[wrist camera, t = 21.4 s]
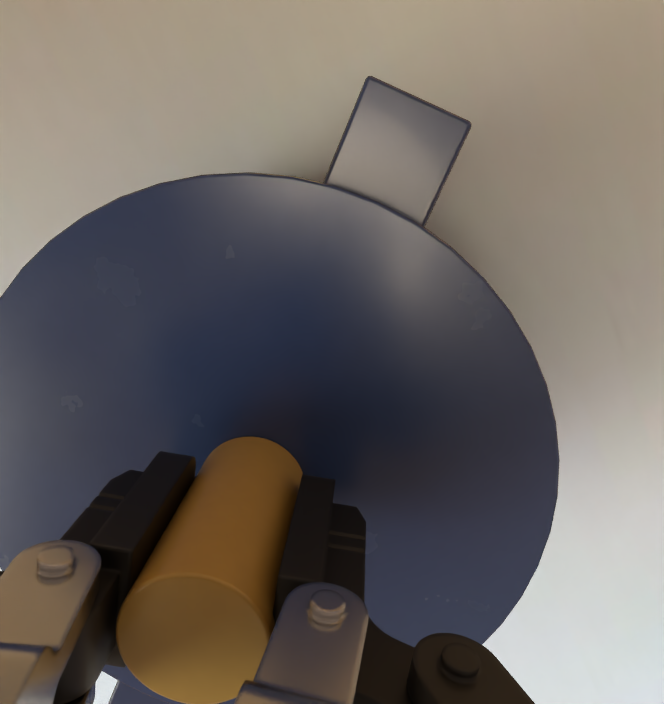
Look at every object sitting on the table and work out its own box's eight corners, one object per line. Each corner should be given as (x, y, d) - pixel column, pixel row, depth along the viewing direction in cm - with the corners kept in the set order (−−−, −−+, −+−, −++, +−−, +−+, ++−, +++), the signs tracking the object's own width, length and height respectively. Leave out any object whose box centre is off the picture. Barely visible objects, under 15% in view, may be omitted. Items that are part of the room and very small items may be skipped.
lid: (-66, 574, 17) (-299, 788, 11) (78, 65, 13) (-160, -21, 7) (397, 758, 18) (409, 1050, 12) (659, 326, 14) (869, 440, 8)
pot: (72, 493, 26) (-82, 658, 17) (227, 45, 21) (121, -46, 12) (356, 610, 26) (347, 825, 18) (572, 203, 21) (709, 226, 13)
